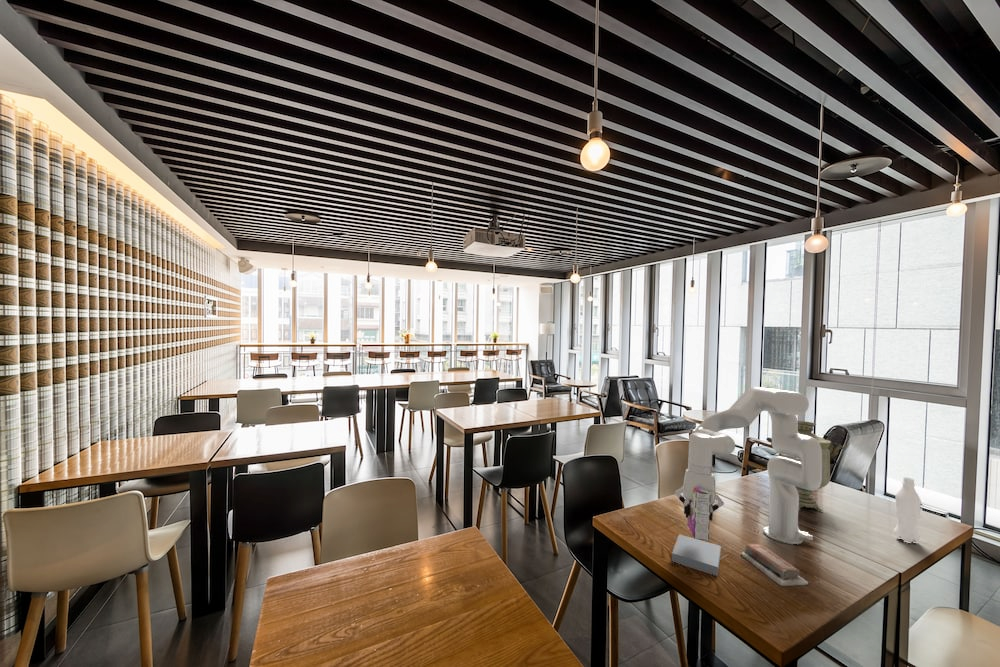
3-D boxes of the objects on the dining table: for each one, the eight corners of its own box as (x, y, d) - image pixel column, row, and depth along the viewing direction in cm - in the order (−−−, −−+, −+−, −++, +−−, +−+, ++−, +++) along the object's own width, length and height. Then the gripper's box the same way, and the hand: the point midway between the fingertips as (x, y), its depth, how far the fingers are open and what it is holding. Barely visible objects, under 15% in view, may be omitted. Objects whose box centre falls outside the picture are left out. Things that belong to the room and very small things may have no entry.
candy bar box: (686, 524, 145) (688, 479, 145) (700, 526, 144) (702, 481, 144) (693, 539, 134) (695, 491, 134) (709, 541, 133) (711, 493, 133)
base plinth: (720, 554, 142) (720, 545, 142) (717, 576, 129) (717, 567, 129) (678, 542, 150) (679, 534, 150) (671, 561, 136) (672, 553, 136)
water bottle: (918, 541, 157) (920, 479, 157) (920, 547, 152) (922, 483, 152) (893, 534, 162) (895, 474, 162) (894, 540, 156) (896, 478, 157)
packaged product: (739, 542, 142) (764, 541, 144) (739, 555, 142) (763, 554, 144) (781, 572, 125) (809, 571, 126) (781, 587, 125) (808, 586, 126)
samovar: (766, 509, 182) (768, 423, 182) (763, 491, 204) (765, 414, 204) (850, 528, 166) (853, 434, 166) (837, 506, 188) (840, 423, 188)
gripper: (728, 471, 138) (726, 522, 138) (675, 461, 147) (673, 508, 147) (727, 477, 131) (725, 530, 131) (671, 466, 141) (670, 516, 141)
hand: (697, 518), depth 139 cm, fingers closed on candy bar box, 6 cm apart
